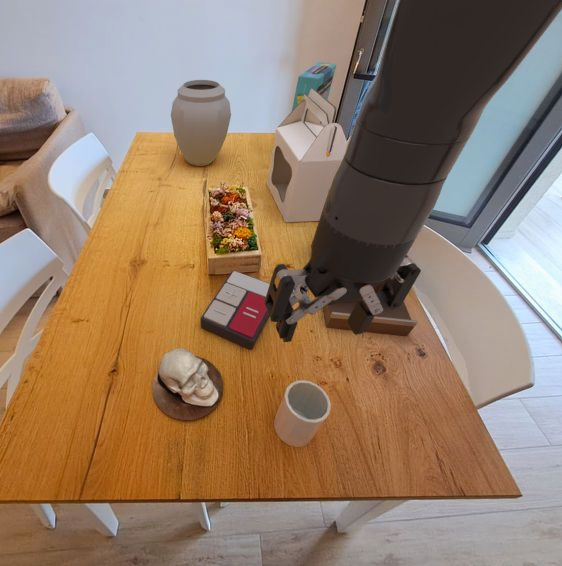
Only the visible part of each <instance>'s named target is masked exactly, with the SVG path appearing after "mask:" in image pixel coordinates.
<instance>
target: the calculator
mask: <svg viewBox="0 0 562 566" xmlns="http://www.w3.org/2000/svg"><path fill="white" fill-rule="evenodd" d="M269 285H270V282H267V281H264V280H262V279H258V278H256V277H253V276H250V275H248V274H245V273H242V272H239V271H236V270H231V272H230V273H229V275H228V276H227V278H226V280H224V282H223V284H222V285H221V287H220V288H219V290H218V291H217V293H216V294H215V296H214V297H213V299H212V300H211V302H210V303H209V305H208V306H207V307H206V309H205V311H204V312H203V314H202V315H201V317H200V328H201V329H203V330H205V331H207V332H210V333H211V334H214V335H216V336H219V337H221V338H223V339H225V340H228V341H229V342H232V343H234V344H236V345H239V346H240V347H242V348H245V349H248V350H250V351H251V350H253V349H254V347H255V345H256V343H257V342H258V340H259V338H260V335H261V333H262V331H263V330H264V327H265V326H266V324H267V321H268V320H269V319H270V316H269V314H268V311H267V309H266V306H265V303H264V301H265V298H266V295H267V291H268V288H269Z"/></svg>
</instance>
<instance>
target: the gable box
mask: <svg viewBox="0 0 562 566" xmlns="http://www.w3.org/2000/svg"><path fill="white" fill-rule="evenodd" d="M304 97H305V99H304V100H303V101H301V102H300V103H299V104H298V105H297V106H296V107H295V109H294V110H293V111H292V110H291V112H290V113H289V114H288V115H287V116H286V117H285V119H283V121H282V122H281V123H280V124H279V125H278V126H277V127H276V128H275V133H274V139H273V145H272V149H271V150H272V151H271V156H270V161H269V162H270V163H269V168H268V173H267V179H266V186H267V188H268V190H269V192H270V194H271V197H272V198H273V200H274V202H275V204H276V207H277V208H278V211H279V213H280V215H281V217H282V219H283V221H284V223H303V222H304V223H306V222H319V220H320V216H321V213H322V210H323V207H324V204H325V201H326V198H327V195H328V192H329V189H330V187H331V184H332V181H333V179H334V176H335V174H336V172H337V170H338V168H339V166H340V164H341V162H342V160H343V157H344V154H345V151H346V148H347V145H348V141H347V139H346V136H345V132H344V130H343V127H342V126H341V124H340V123H337V122H335V121H336V115H337V107H336V106H335V105H334V104H333V103H332V102H330V101H329V100H327V99H326V98H324V97H323V96H322V95H321V94H320V93H318V92H317V91H316V90H315V89H311V90H310V93H309V96H307V95H306V94H305V93H304ZM300 120H301V121H300ZM320 121H321V122H322V123H321V124H320ZM322 124H323V125H324V126H322ZM328 153H329V154H328ZM327 154H328V155H327Z"/></svg>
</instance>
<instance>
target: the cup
mask: <svg viewBox="0 0 562 566" xmlns="http://www.w3.org/2000/svg"><path fill="white" fill-rule="evenodd" d="M331 409H332V404H331V400H330V397H329V395H328V393H327V392H326V391H325V390H324V389H323V388H322V387H321V386H319V384H318V383H315V382H313V381H310V380H304V379H303V380H302V379H299V380H296V381H293V382H291V383H290V384H289V385H288V386H287V387H286V389H285V391H284V394H283V396H282V398H281V401H280V404H279V406H278V408H277V411H276V413H275V416H274V418H273V428H274V431H275V434H276V435H277V436H278V438H279V439H280V440H281V441H282V442H283V443H285V444H286V445H288V446H290V447H294V448H303V447H306V446H307V445H309V444H310V443H311V441H312V440H313V439H314V438H315V436H316V434H317V433H319V431H320V429H321V427H322V426H323V424H324V423H325V422H326V420H327V419H328V417H329V415H330V413H331Z"/></svg>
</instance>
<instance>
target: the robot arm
mask: <svg viewBox="0 0 562 566" xmlns="http://www.w3.org/2000/svg"><path fill="white" fill-rule="evenodd" d="M561 11H562V0H398V2H397V5H396V7H395V12H394V15H393V18H392V22H391V24H390V28H389V31H388V35H387V38H386V41H385V45H384V49H383V52H382V55H381V59H380V62H379V65H378V69H377V72H376V75H375V76H374V78H373V79H372V81H370V84H369V86H368V87H367V89H366V91H365V94H364V97H363V99H362V101H361V104H360V107H359V109H358V112H357V114H356V118H355V121H354V123H353V126H352V129H351V133H350V136H349V139H348V141H347V144H348V145H347V148H346V151H345V154H344V157H343V160H342V162H341V164H340V166H339V168H338V170H337V172H336V174H335V176H334V179H333V181H332V184H331V187H330V190H329V193H328V196H327V199H326V202H325V206H324V209H323V212H322V215H321V219H320V222H319V221H318V223H319V225H318V224H317V226H318V228H317V227H316V229H317V231H316V230H315V232H316V234H315V233H314V235H315V238H314V237H313V238H314V241H313V240H312V241H313V244H312V243H311V244H312V249H311V251H310V252H311V253H310V259H309V260H308V262H307V263H306V264H305V265H304V266H303V268H302V269H288V267H287V265H286V264H284V263H280V264H277V265H276V266H274V269H273V272H272V276H271V279H270V281H269V283H270V285H269V288H268V291H267V295H266V298H265V301H264V303H265V306H266V309H267V311H268V314H269V319H270V321H271V322H272V323H275V329H276V331H277V332H276V333H277V334H278V337H279V339H282V341H283V343H291V342H292V340H293V337H294V335H295V331H296V329H297V326H298V321H300V320H301V319H302V318H304V317H305V316H306V315H308V314H309V315H315V314H316V313H317V312H319V311H320V310H321V309H323V307H324V306H325V305H333V304H336V303H352V302H354V301H355V300H357V299H359V298H362V301H357V303H356V305H355V307H354V309H353V311H352V312H351V314H350V316H349V318H348V324H349V326H350V328H351V329H352V330H351V331H352V333H353V334H354V335H362V334H363V333H365V332H364V330H365V329H366V328H367V327H369V325H370V323H371V322H372V320H373V318H374V317H375V315H377V314H380V313H381V312H382V311H383V308H387V307H389V308H390V309H392V310H393V309H397V308H399V307H400V306H401V305H402V303H403V301H404V302H405V300H406V298H407V297H408V295H409V293H410V291H411V289H412V288H413V286H414V284H415V283H416V281H417V279H418V278H419V276H420V274H421V272H422V269H420V268H419V266H418V265H417V264H416V263H415V262H414V260H412V258H411V257H409V256H408V253H409V251H410V249H411V248H412V246H413V245H414V243H415V241H416V239H417V238H418V236H419V235H420V233H421V231H422V229H423V228H424V225H426V222H427V220H428V219H429V217H430V216H431V214H432V212H433V210H434V208H435V207H436V204H437V201H438V200H439V197H440V195H441V192H442V190H443V187H444V185H445V182H446V180H447V178H448V176H449V174H451V171H452V170H453V168H454V166H455V164H456V162H457V161H458V159H459V158H460V156H461V154H462V152H463V151H464V148H465V147H466V145H467V143H468V142H469V140H470V138H471V136H472V135H473V133H474V131H475V129H476V127H477V125H478V123H479V121H480V119H481V117H482V115H483V112H484V110H485V109H486V107H487V105H489V103H490V102H491V100H492V99H493V97H494V96H495V95H496V94H497V93H498V92H499V91H500V89H501V88H502V87H503V86H504V85H505V83H507V81H508V80H509V79H510V78H511V76H512V75H514V73H515V71H516V70H517V69H518V68H519V66H520V65H521V64H522V62H523V61H524V59H525V58H526V57H527V56H528V54H530V52H531V50H532V49H533V48H534V47H535V45H536V44H537V43H538V42H539V40H540V39H541V38H542V36H543V35H544V34H545V32H546V31H547V30H548V28H549V27H550V26H551V25H552V23H553V22H554V21H555V20H556V18H557V17H558V15H559V14H560V13H561ZM381 283H382V284H381ZM379 284H381V286H380V288H379V290H378V292H377V293H375V292H374V288H375V287H376V286H378V285H379ZM392 289H393V290H394V293H393V292H392ZM308 291H310V292H311V294H312V295H313V296H314V299H312V300H311V299H310V296H309V295H308ZM297 303H298V306H297V307H295V309H294V308H293V307H294V306H295V305H296V304H297Z"/></svg>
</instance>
